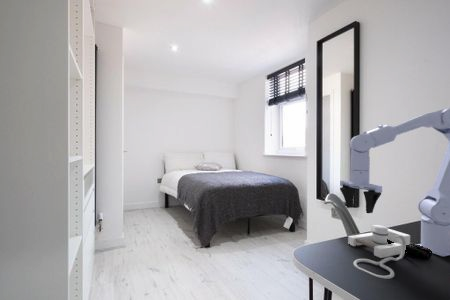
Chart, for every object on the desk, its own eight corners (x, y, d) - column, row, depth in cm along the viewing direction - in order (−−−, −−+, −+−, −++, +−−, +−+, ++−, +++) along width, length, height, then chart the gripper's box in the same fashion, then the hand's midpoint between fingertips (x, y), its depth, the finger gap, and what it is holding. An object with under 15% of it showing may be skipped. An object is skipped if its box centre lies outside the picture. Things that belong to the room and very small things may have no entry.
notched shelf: (375, 239, 84) (375, 224, 84) (409, 251, 74) (410, 235, 74) (348, 243, 79) (348, 228, 79) (380, 258, 69) (380, 240, 69)
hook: (425, 262, 67) (387, 293, 57) (388, 249, 75) (349, 275, 65) (423, 236, 66) (385, 263, 56) (386, 227, 74) (347, 248, 64)
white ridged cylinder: (368, 245, 78) (369, 225, 78) (378, 244, 79) (379, 224, 79) (380, 250, 74) (381, 229, 74) (390, 249, 75) (391, 228, 75)
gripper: (334, 168, 87) (333, 206, 87) (371, 172, 74) (370, 216, 74) (348, 168, 90) (347, 204, 90) (387, 172, 77) (386, 214, 77)
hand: (359, 210), depth 82 cm, fingers open, 7 cm apart
